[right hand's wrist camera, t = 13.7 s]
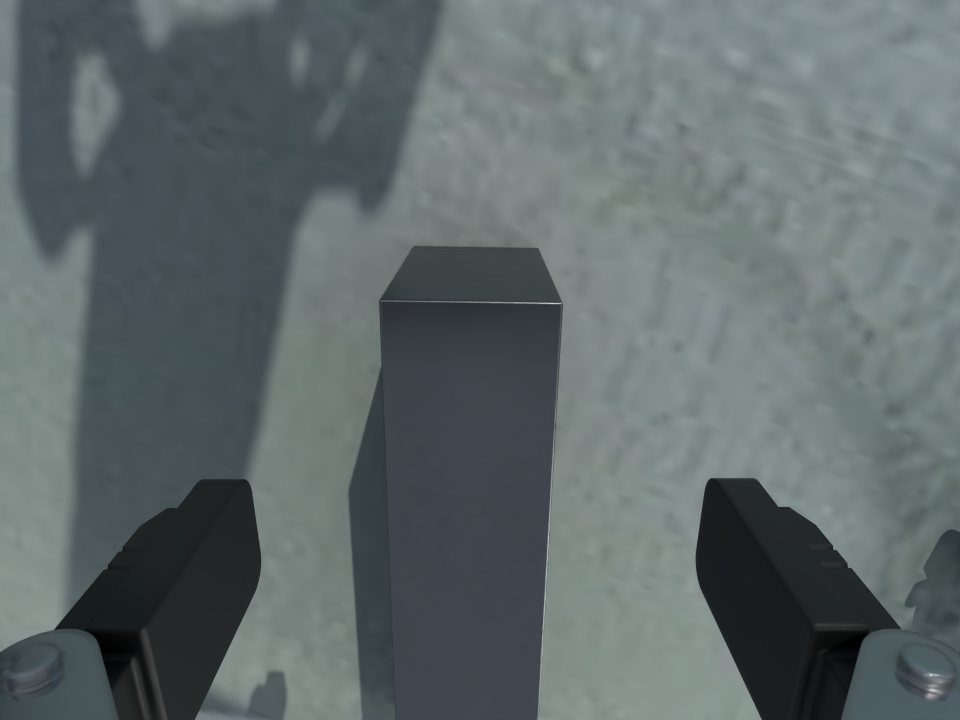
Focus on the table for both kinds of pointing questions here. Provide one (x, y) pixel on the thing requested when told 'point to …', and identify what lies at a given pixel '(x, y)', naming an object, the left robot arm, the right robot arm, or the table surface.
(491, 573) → the bar
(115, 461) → the table surface
